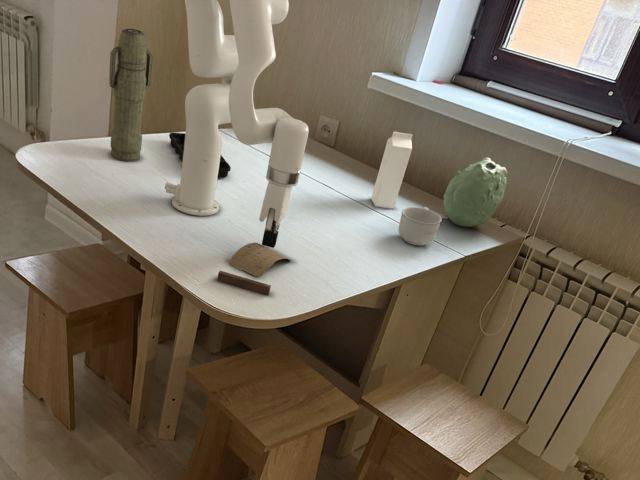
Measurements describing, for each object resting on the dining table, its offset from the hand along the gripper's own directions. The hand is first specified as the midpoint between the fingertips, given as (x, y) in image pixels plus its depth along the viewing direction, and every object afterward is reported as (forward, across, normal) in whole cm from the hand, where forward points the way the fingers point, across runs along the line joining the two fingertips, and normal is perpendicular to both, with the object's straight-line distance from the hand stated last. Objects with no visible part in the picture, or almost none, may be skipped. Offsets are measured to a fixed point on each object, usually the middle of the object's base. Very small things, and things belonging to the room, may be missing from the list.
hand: (268, 245), depth 167 cm
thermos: (+2, -35, -54) cm, 64 cm away
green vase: (+2, -53, +49) cm, 72 cm away
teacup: (+2, -32, +35) cm, 48 cm away
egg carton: (+2, -47, -35) cm, 58 cm away
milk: (+2, -52, +24) cm, 57 cm away
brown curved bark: (+2, +7, 0) cm, 7 cm away
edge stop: (+1, +21, 0) cm, 21 cm away
